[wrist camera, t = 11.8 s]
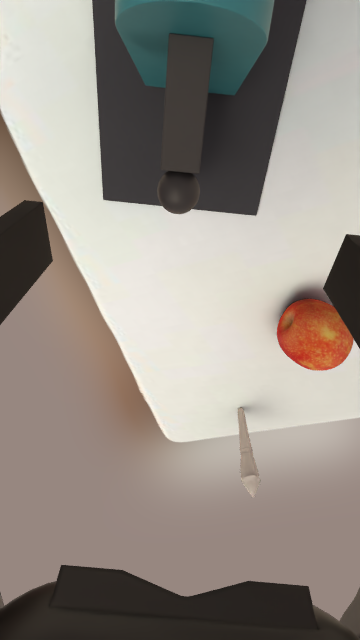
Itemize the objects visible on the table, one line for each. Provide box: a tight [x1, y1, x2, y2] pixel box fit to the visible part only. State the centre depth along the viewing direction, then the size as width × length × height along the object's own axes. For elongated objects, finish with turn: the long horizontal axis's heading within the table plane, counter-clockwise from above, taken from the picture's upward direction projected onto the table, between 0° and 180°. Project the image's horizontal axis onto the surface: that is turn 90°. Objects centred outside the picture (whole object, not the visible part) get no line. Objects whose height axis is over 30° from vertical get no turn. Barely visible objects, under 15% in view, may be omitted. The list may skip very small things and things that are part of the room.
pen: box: [238, 408, 261, 497], centre depth 47 cm, size 2×3×14 cm
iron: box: [115, 0, 274, 214], centre depth 20 cm, size 16×8×14 cm
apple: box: [277, 299, 353, 370], centre depth 37 cm, size 8×8×8 cm
